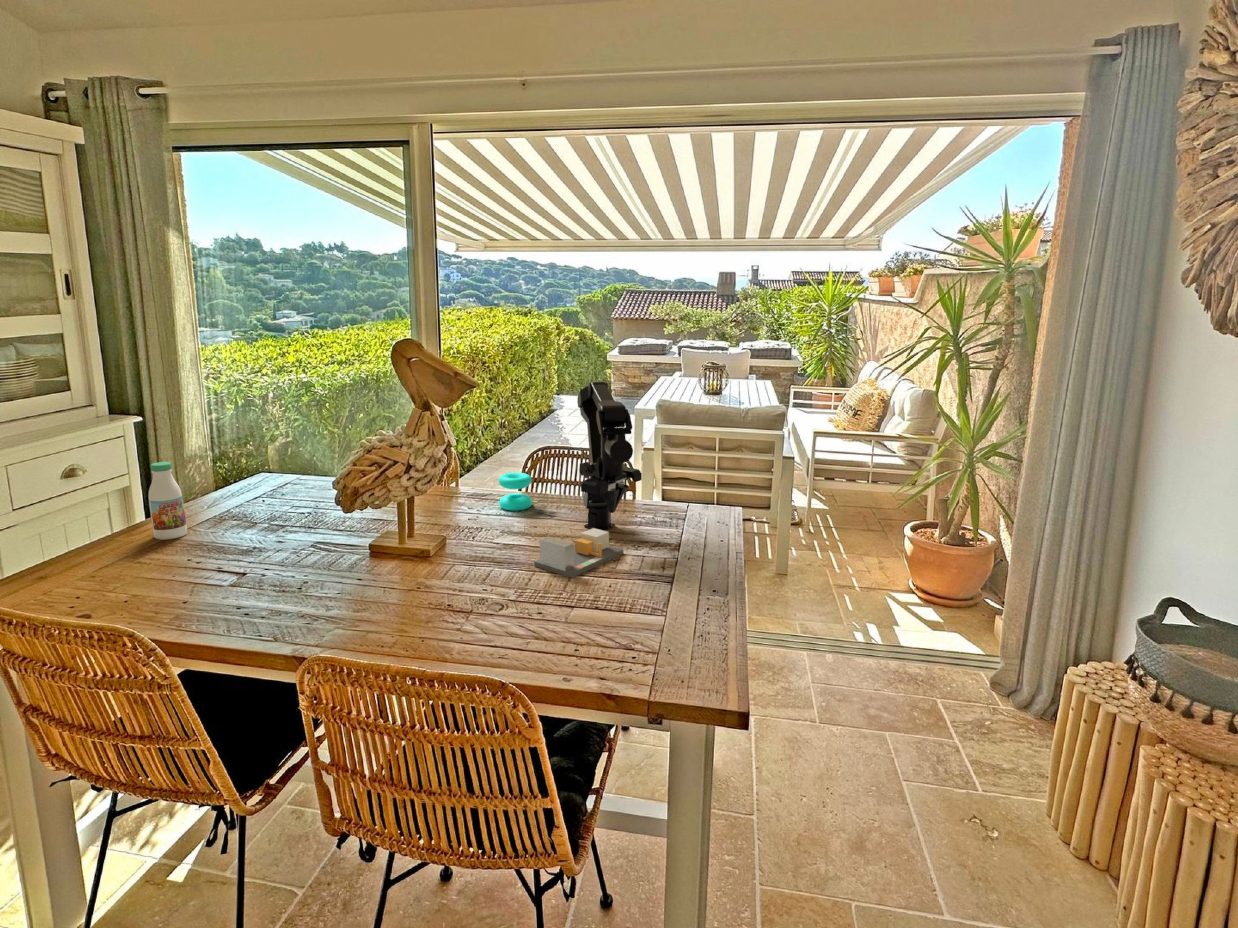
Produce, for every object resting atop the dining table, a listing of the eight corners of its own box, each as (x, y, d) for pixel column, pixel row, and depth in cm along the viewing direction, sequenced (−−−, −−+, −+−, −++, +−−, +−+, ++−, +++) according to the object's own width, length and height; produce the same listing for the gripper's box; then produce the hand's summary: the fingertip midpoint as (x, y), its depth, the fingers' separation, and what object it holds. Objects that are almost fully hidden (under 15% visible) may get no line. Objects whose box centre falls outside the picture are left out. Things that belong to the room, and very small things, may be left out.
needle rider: (580, 549, 183) (580, 536, 182) (603, 556, 179) (603, 542, 178) (574, 551, 182) (574, 538, 181) (598, 558, 177) (598, 544, 177)
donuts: (531, 479, 217) (497, 480, 216) (532, 511, 219) (498, 512, 218) (531, 471, 226) (499, 471, 225) (532, 501, 229) (500, 502, 228)
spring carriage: (593, 542, 188) (593, 527, 187) (608, 546, 185) (608, 531, 184) (581, 548, 184) (581, 533, 183) (596, 552, 181) (596, 537, 180)
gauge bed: (586, 543, 192) (586, 517, 190) (623, 553, 185) (623, 526, 183) (534, 566, 176) (533, 537, 175) (571, 577, 169) (571, 548, 168)
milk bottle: (147, 538, 194) (136, 465, 189) (174, 529, 201) (164, 458, 196) (167, 542, 191) (156, 468, 186) (194, 533, 198) (184, 461, 193)
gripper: (609, 443, 197) (609, 498, 201) (564, 455, 182) (564, 515, 186) (643, 449, 190) (642, 506, 194) (598, 462, 176) (598, 523, 180)
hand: (611, 512), depth 189 cm, fingers closed
